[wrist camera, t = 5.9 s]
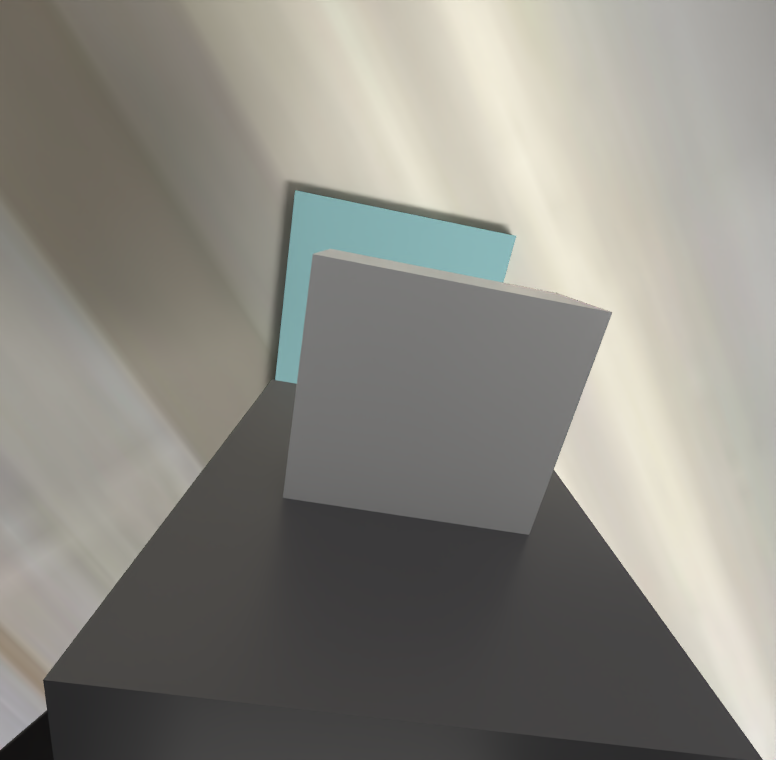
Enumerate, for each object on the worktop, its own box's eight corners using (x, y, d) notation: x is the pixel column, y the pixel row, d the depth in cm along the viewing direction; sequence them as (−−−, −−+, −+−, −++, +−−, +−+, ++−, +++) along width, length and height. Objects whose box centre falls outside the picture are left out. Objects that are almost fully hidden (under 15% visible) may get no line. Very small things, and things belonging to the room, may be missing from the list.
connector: (412, 747, 10) (437, 1177, 6) (236, 728, 10) (106, 1166, 5) (563, 286, 7) (1025, 429, 2) (286, 232, 6) (-15, 233, 2)
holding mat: (429, 537, 20) (430, 543, 19) (263, 512, 19) (260, 518, 19) (512, 235, 15) (516, 235, 15) (297, 191, 15) (295, 190, 14)
